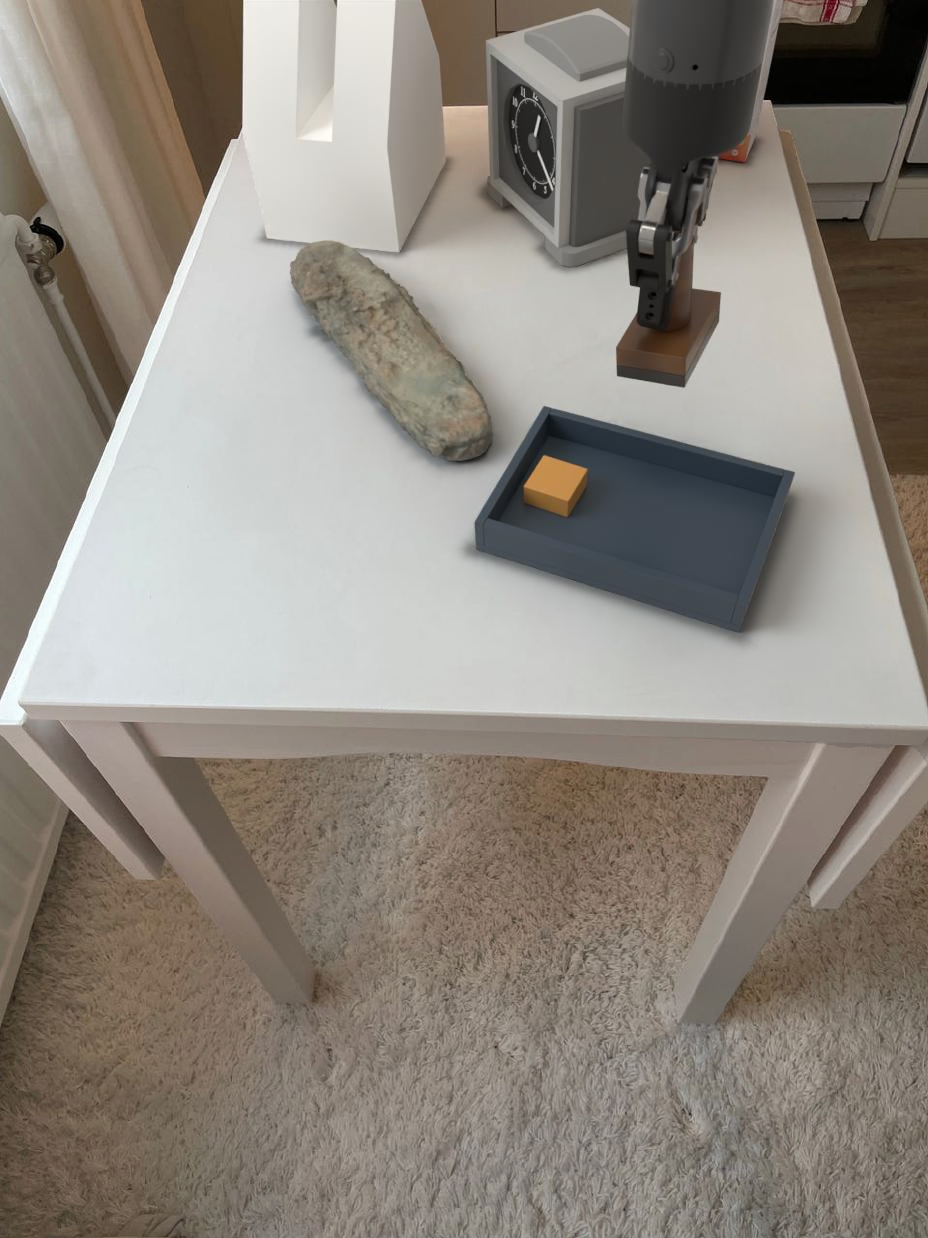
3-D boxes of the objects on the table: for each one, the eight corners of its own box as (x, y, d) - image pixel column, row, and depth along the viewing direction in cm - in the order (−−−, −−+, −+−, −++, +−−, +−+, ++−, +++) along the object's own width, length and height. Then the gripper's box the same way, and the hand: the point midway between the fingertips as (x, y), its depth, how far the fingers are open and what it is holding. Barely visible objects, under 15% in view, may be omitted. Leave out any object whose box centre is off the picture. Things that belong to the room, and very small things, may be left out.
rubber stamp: (719, 321, 70) (726, 212, 64) (684, 388, 66) (688, 278, 60) (654, 312, 72) (654, 204, 66) (616, 376, 68) (613, 268, 62)
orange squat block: (586, 485, 80) (588, 468, 78) (567, 517, 78) (568, 500, 76) (543, 471, 81) (543, 454, 79) (523, 502, 79) (523, 486, 77)
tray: (786, 500, 79) (795, 471, 76) (739, 632, 71) (747, 606, 68) (543, 433, 85) (543, 405, 82) (475, 549, 77) (473, 521, 75)
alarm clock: (483, 189, 109) (476, 13, 95) (581, 157, 113) (590, -19, 98) (566, 269, 99) (573, 86, 85) (671, 231, 102) (696, 48, 88)
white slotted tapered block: (325, 150, 117) (283, -95, 96) (446, 160, 114) (429, -89, 94) (267, 238, 106) (207, -17, 86) (399, 252, 103) (369, -8, 83)
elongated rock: (422, 495, 83) (520, 456, 86) (422, 451, 79) (525, 412, 82) (268, 276, 100) (354, 250, 103) (260, 230, 96) (350, 205, 99)
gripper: (730, 116, 49) (684, 384, 62) (791, 3, 56) (737, 265, 70) (590, 94, 51) (575, 358, 64) (667, -12, 58) (639, 246, 72)
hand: (660, 309), depth 67 cm, fingers closed on rubber stamp, 3 cm apart
